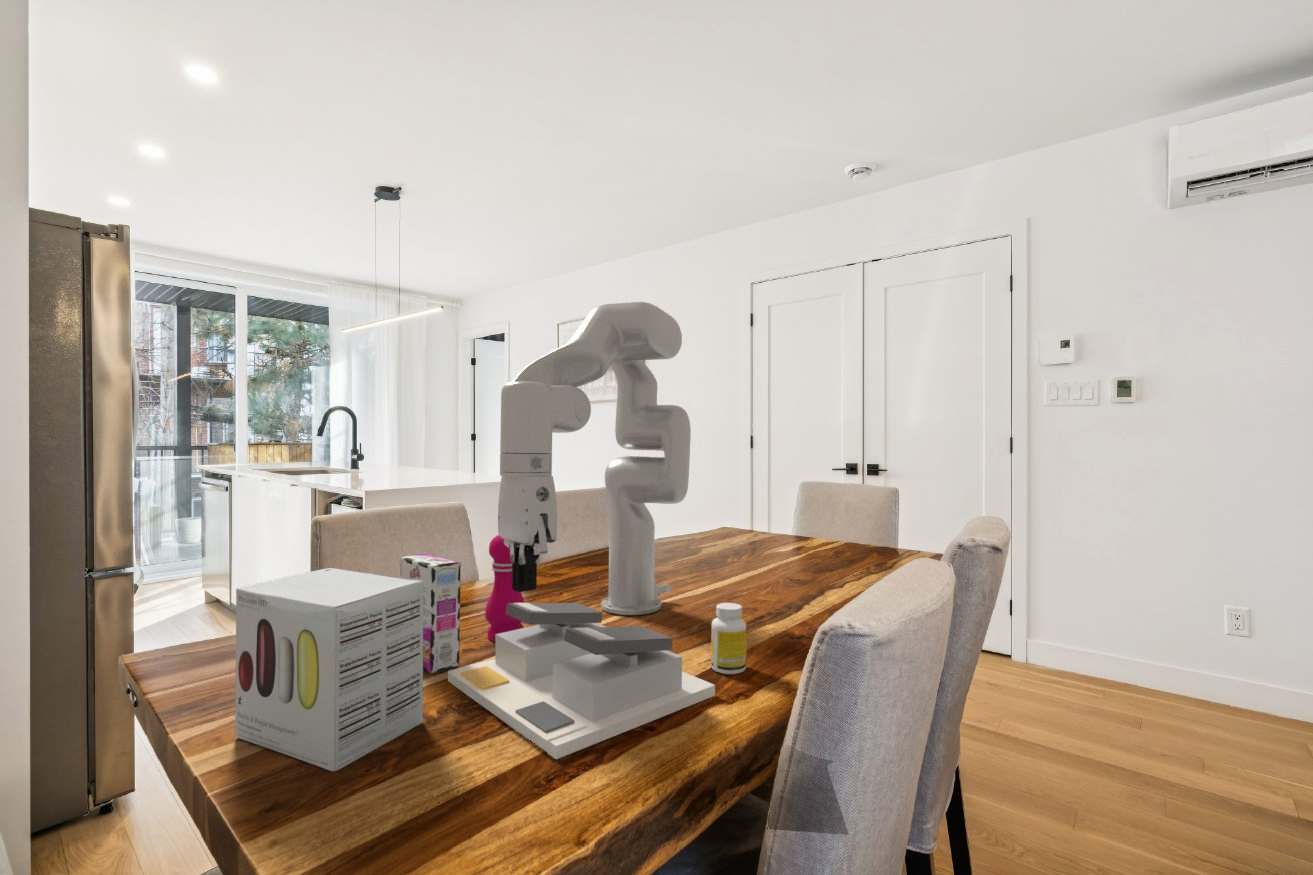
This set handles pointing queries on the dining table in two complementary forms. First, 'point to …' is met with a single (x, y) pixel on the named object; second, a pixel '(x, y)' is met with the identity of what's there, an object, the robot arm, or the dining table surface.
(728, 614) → the supplement bottle
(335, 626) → the supplement box
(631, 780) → the dining table surface
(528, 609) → the marked switch
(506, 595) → the pepper mill
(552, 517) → the robot arm
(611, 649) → the plain switch
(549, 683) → the switch unit
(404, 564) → the candy bar box
